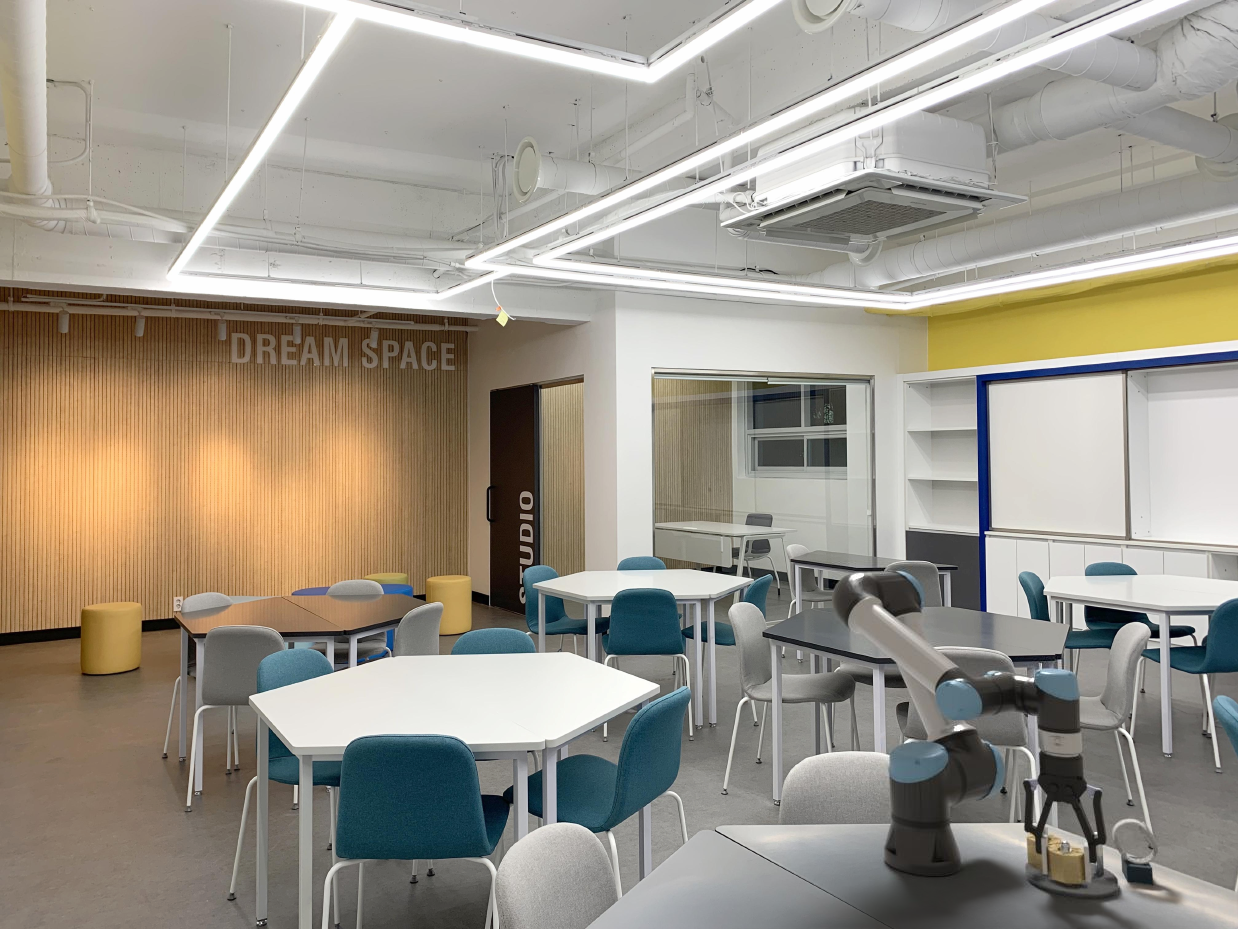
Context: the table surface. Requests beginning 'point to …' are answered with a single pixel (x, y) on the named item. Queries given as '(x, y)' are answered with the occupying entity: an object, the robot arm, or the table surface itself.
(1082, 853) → the planet gear
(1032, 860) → the planet gear
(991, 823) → the table surface
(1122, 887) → the table surface
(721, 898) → the table surface
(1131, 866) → the watch
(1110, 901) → the table surface
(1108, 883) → the carrier
